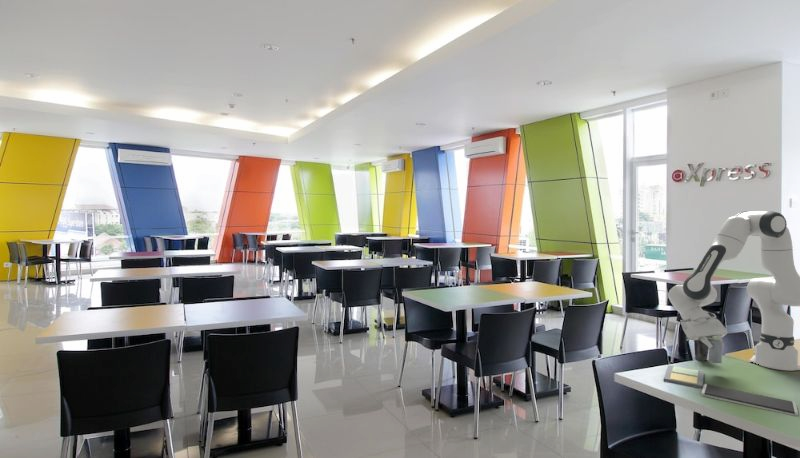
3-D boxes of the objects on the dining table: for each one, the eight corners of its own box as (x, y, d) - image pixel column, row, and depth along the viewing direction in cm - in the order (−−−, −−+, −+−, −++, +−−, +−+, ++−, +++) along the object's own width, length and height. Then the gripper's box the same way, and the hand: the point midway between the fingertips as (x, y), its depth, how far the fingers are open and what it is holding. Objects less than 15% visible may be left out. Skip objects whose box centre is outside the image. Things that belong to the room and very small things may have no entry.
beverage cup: (713, 362, 213) (715, 318, 213) (695, 360, 215) (697, 317, 215) (706, 357, 221) (708, 315, 220) (689, 356, 222) (690, 314, 222)
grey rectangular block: (708, 359, 200) (709, 334, 200) (721, 361, 197) (722, 336, 197) (708, 362, 196) (709, 336, 196) (721, 364, 194) (722, 338, 193)
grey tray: (798, 418, 154) (798, 413, 154) (700, 397, 170) (701, 392, 170) (795, 406, 164) (795, 401, 164) (704, 387, 181) (704, 382, 181)
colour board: (668, 367, 203) (668, 364, 203) (703, 373, 196) (704, 370, 196) (663, 381, 185) (663, 377, 185) (702, 388, 178) (703, 385, 178)
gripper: (683, 316, 199) (704, 344, 190) (717, 313, 206) (739, 341, 197) (673, 324, 203) (694, 352, 195) (707, 321, 211) (728, 348, 202)
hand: (717, 346), depth 196 cm, fingers closed on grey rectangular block, 5 cm apart
